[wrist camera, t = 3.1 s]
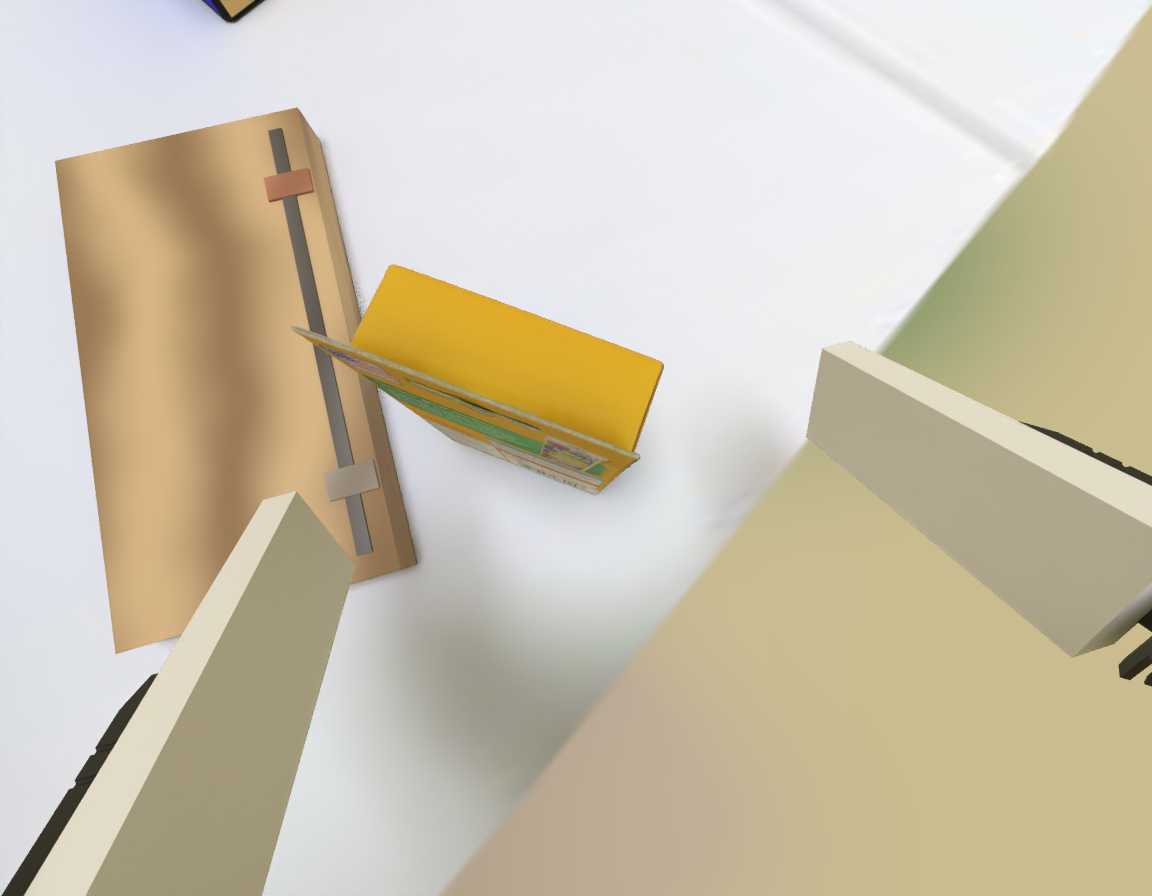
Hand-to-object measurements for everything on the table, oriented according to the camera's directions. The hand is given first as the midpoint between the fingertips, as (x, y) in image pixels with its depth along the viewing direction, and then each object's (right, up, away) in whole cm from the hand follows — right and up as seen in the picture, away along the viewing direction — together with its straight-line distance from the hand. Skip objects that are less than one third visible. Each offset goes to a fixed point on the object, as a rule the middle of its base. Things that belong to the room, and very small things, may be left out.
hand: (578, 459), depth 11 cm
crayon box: (-2, +1, +9) cm, 9 cm away
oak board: (-15, +4, +9) cm, 18 cm away
